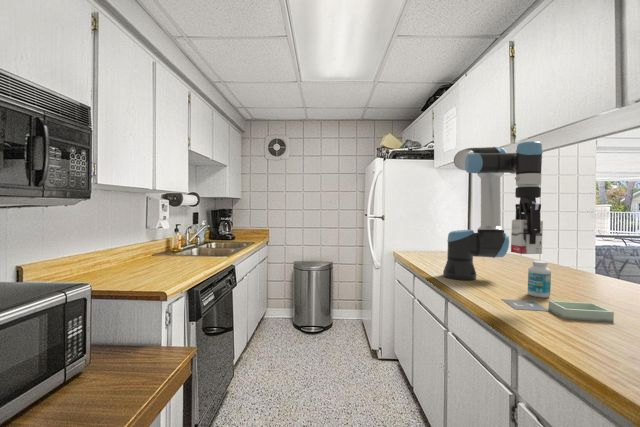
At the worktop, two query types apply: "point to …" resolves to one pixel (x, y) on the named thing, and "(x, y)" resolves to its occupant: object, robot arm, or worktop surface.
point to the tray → (581, 311)
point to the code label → (525, 305)
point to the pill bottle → (539, 280)
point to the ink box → (523, 237)
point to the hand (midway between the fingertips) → (526, 252)
